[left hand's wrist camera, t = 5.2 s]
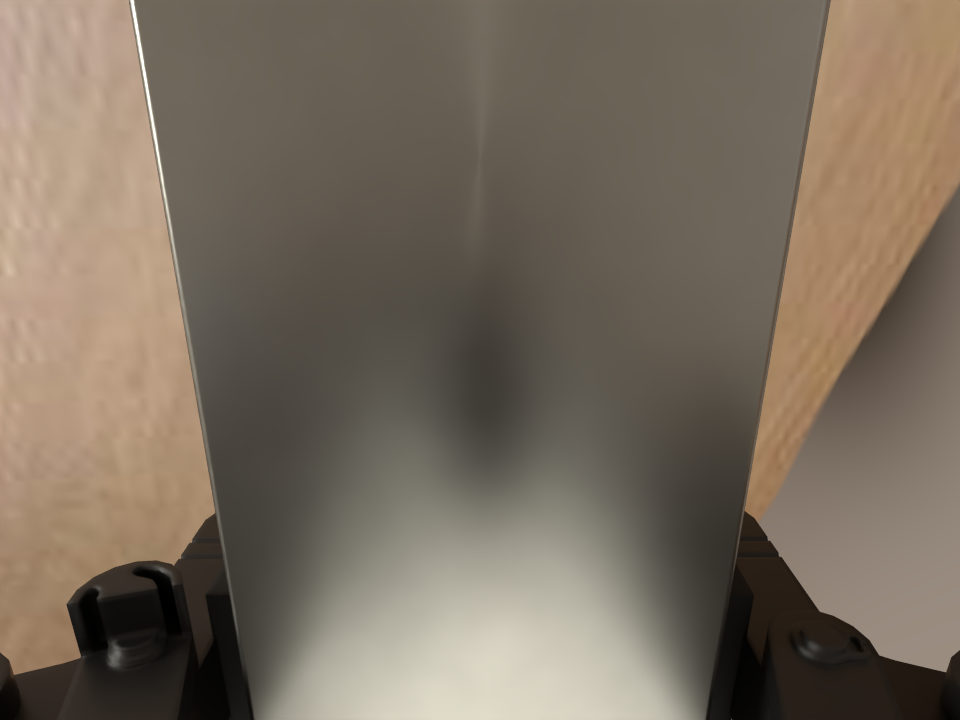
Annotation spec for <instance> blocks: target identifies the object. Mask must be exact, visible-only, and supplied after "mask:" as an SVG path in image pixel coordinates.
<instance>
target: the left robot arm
mask: <svg viewBox="0 0 960 720" xmlns="http://www.w3.org/2000/svg"><path fill="white" fill-rule="evenodd" d="M67 608H68V611H69V615H70V619H71V622H72V626H73V629H74V633H75V636H76V640H77V643H78V647H79V651H80V654H81V658H80V659H76V660H73V661H70V662H67V663H63V664H59V665H55V666H51V667H46V668H42V669H38V670H34V671H30V672H25V673H21V674H17V675H14V674H13V671H12V668H11V665H10V662H9V660H8V659H7V658H6V657H5V656H3V655H2V654H1V653H0V720H251V719H250V713H249V707H248V701H247V696H246V690H245V684H244V678H243V672H242V666H241V660H240V654H239V648H238V642H237V636H236V630H235V625H234V619H233V613H232V607H231V601H230V595H229V589H228V583H227V577H226V571H225V565H224V560H223V554H222V548H221V542H220V536H219V530H218V524H217V518H216V513H215V514H213V515H212V516H211V517H209V518H208V519H206V520H205V522H204V523H203V525H202V526H201V528H200V529H199V530H198V532H197V533H196V535H195V536H194V538H193V539H192V543H189V545H188V546H187V548H186V549H185V551H184V552H183V553H182V555H181V559H178V561H177V562H176V564H175V565H174V566H173V565H172V564H168V563H164V562H160V561H139V562H133V563H129V564H126V565H122V566H118V567H115V568H113V569H110V570H108V571H106V572H104V573H102V574H100V575H98V576H96V577H94V578H92V579H91V580H90V581H88V582H87V583H86V584H84V585H83V586H82V587H80V588H79V589H78V590H77V591H76V592H75V594H74V595H73V596H72V598H71V599H70V600H69V602H68V603H67ZM731 718H732V720H960V651H958V652H957V653H956V654H955V655H954V656H952V657H951V660H950V663H949V666H948V669H947V672H942V671H937V670H933V669H929V668H925V667H920V666H916V665H912V664H908V663H903V662H899V661H895V660H892V659H889V658H885V657H882V656H879V655H878V653H877V651H876V650H875V648H874V647H873V645H872V644H871V642H870V640H868V639H867V638H866V637H865V636H864V635H863V634H861V633H860V632H859V631H858V630H857V629H856V628H854V627H853V626H851V625H850V624H848V623H846V622H844V621H842V620H840V619H838V618H836V617H835V616H832V615H829V614H825V613H822V612H819V610H818V609H817V607H816V606H815V604H814V603H813V602H812V600H811V599H810V597H809V596H808V594H807V593H806V592H805V590H804V589H803V587H802V586H801V584H800V583H799V582H798V580H797V579H796V577H795V576H794V574H793V573H792V572H791V570H790V569H789V567H788V566H787V564H786V563H785V562H784V560H783V559H782V557H779V555H778V551H777V550H776V549H775V547H774V546H773V544H772V543H771V541H768V539H767V536H766V534H765V533H764V531H763V530H762V529H761V527H760V526H759V524H758V523H757V521H756V520H755V518H753V517H752V516H751V515H749V514H748V513H746V512H745V511H744V516H743V522H742V528H741V534H740V540H739V545H738V551H737V557H736V563H735V569H734V575H733V581H732V587H731V593H730V599H729V605H728V611H727V616H726V622H725V628H724V634H723V640H722V646H721V652H720V658H719V664H718V670H717V676H716V682H715V687H714V693H713V699H712V705H711V711H710V717H709V720H731Z"/></svg>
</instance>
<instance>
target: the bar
mask: <svg viewBox="0 0 960 720" xmlns="http://www.w3.org/2000/svg"><path fill="white" fill-rule="evenodd" d="M830 1H831V0H129V4H130V10H131V16H132V22H133V28H134V34H135V40H136V45H137V51H138V57H139V63H140V69H141V75H142V81H143V87H144V93H145V99H146V105H147V110H148V116H149V122H150V128H151V134H152V140H153V146H154V152H155V158H156V164H157V170H158V175H159V181H160V187H161V193H162V199H163V205H164V211H165V217H166V223H167V229H168V235H169V240H170V246H171V252H172V258H173V264H174V270H175V276H176V282H177V288H178V294H179V300H180V305H181V311H182V317H183V323H184V329H185V335H186V341H187V347H188V353H189V359H190V365H191V370H192V376H193V382H194V388H195V394H196V400H197V406H198V412H199V418H200V424H201V430H202V435H203V441H204V447H205V453H206V459H207V465H208V471H209V477H210V483H211V489H212V495H213V500H214V506H215V512H216V518H217V524H218V530H219V536H220V542H221V548H222V554H223V560H224V565H225V571H226V577H227V583H228V589H229V595H230V601H231V607H232V613H233V619H234V625H235V630H236V636H237V642H238V648H239V654H240V660H241V666H242V672H243V678H244V684H245V690H246V696H247V701H248V707H249V713H250V719H251V720H709V717H710V711H711V705H712V699H713V693H714V687H715V682H716V676H717V670H718V664H719V658H720V652H721V646H722V640H723V634H724V628H725V622H726V616H727V611H728V605H729V599H730V593H731V587H732V581H733V575H734V569H735V563H736V557H737V551H738V545H739V540H740V534H741V528H742V522H743V516H744V510H745V504H746V498H747V492H748V486H749V480H750V474H751V469H752V463H753V457H754V451H755V445H756V439H757V433H758V427H759V421H760V415H761V409H762V403H763V397H764V392H765V386H766V380H767V374H768V368H769V362H770V356H771V350H772V344H773V338H774V332H775V326H776V321H777V315H778V309H779V303H780V297H781V291H782V285H783V279H784V273H785V267H786V261H787V255H788V250H789V244H790V238H791V232H792V226H793V220H794V214H795V208H796V202H797V196H798V190H799V184H800V178H801V173H802V167H803V161H804V155H805V149H806V143H807V137H808V131H809V125H810V119H811V113H812V107H813V102H814V96H815V90H816V84H817V78H818V72H819V66H820V60H821V54H822V48H823V42H824V36H825V31H826V25H827V19H828V13H829V7H830Z"/></svg>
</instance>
